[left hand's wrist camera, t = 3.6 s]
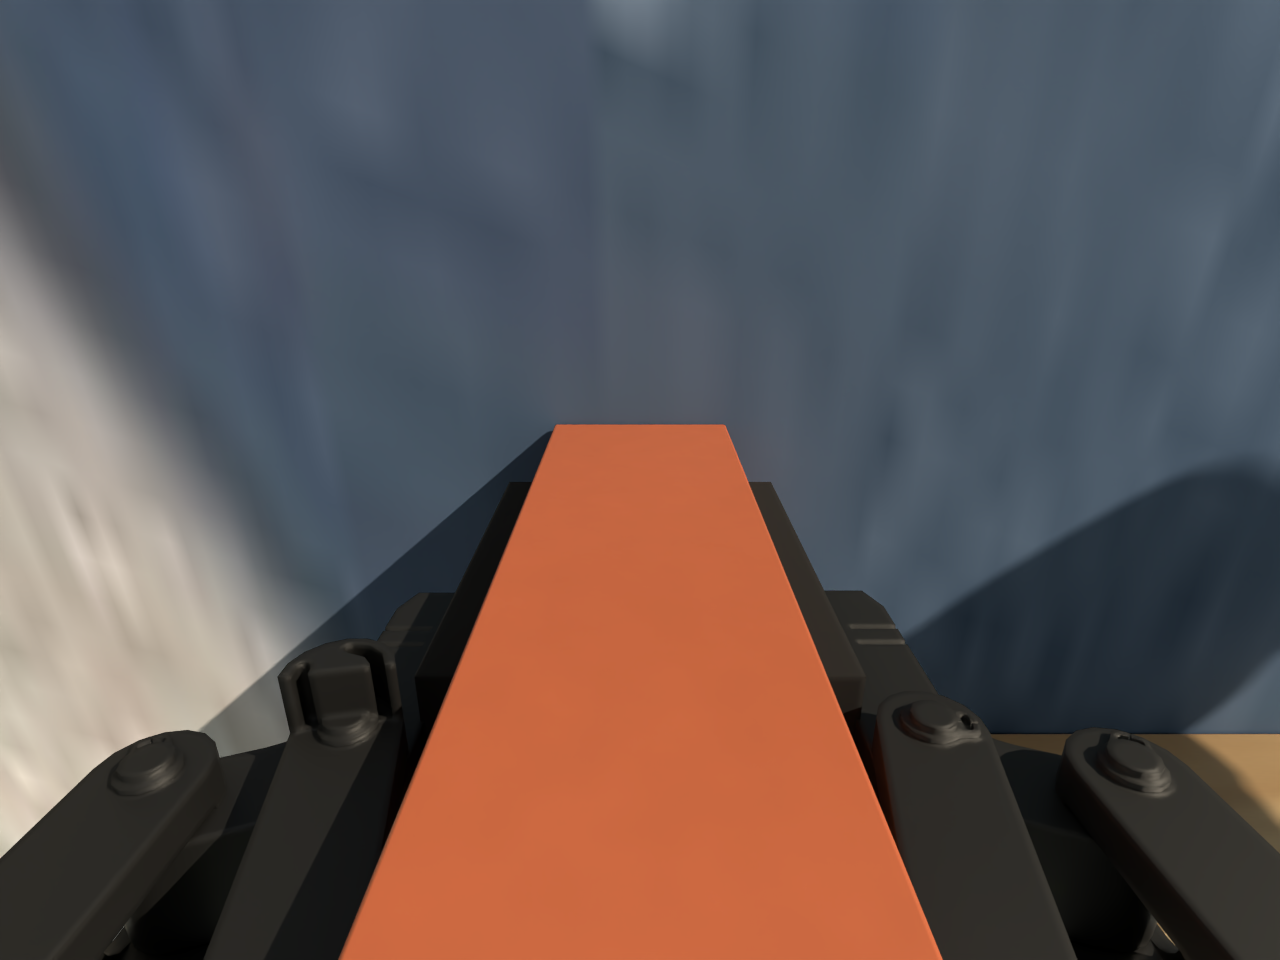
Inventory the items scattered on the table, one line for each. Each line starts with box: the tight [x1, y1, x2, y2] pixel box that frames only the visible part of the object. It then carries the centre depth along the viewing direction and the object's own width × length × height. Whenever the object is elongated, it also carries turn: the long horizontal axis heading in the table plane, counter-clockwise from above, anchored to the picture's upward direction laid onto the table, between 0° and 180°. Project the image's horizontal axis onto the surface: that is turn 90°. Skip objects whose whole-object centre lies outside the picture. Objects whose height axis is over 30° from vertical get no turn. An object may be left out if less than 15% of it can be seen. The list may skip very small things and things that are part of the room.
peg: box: [338, 425, 943, 960], centre depth 10 cm, size 4×4×14 cm
